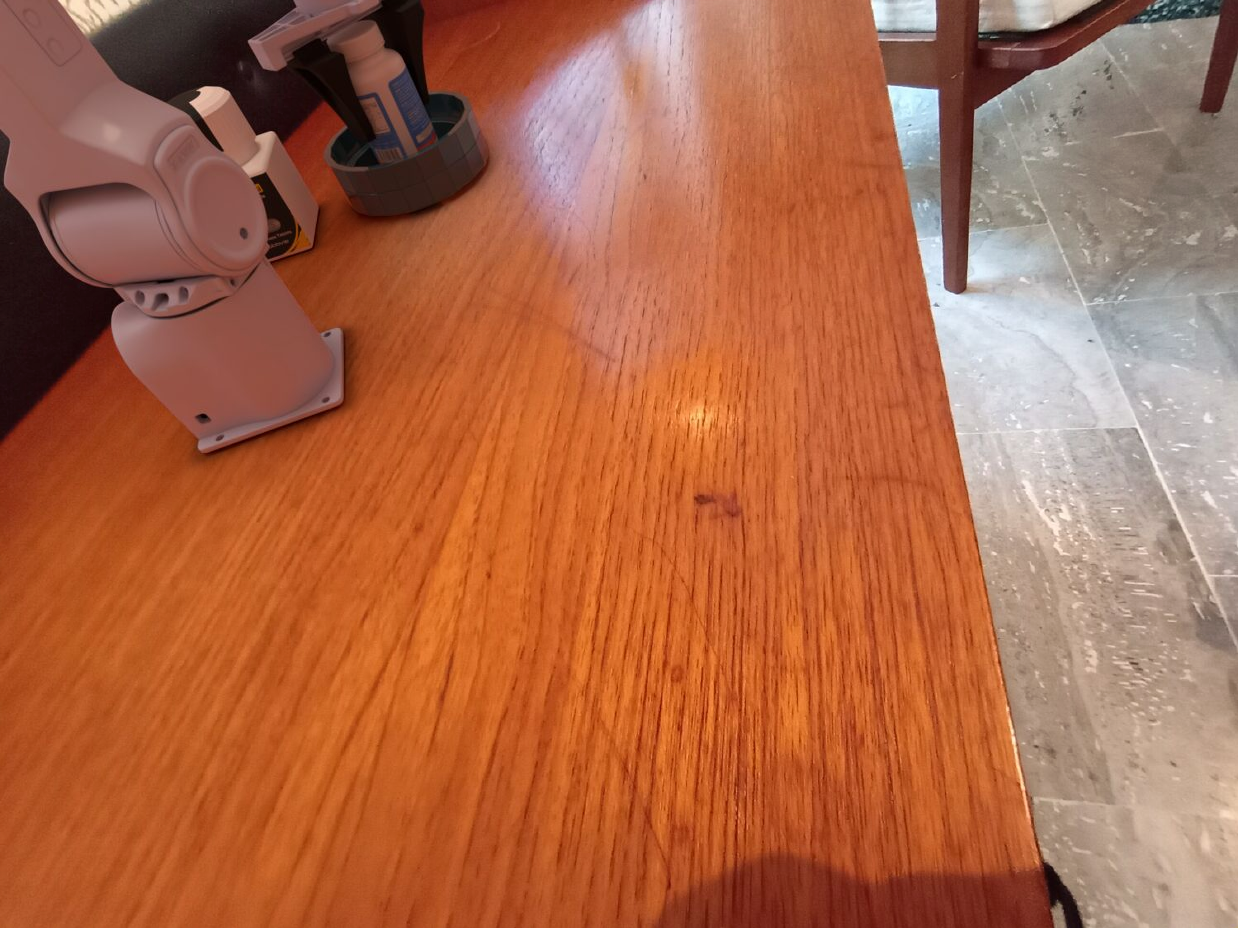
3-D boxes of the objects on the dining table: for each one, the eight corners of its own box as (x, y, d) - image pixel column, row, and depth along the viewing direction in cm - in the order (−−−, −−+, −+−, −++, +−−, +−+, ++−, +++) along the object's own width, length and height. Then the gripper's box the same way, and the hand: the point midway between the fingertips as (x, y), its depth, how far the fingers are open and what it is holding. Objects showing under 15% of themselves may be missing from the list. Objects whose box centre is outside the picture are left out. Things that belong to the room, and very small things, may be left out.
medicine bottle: (232, 275, 60) (126, 135, 51) (245, 232, 65) (150, 96, 56) (314, 249, 60) (222, 102, 51) (320, 207, 65) (237, 66, 56)
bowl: (351, 239, 59) (322, 189, 56) (350, 171, 68) (325, 124, 65) (500, 186, 59) (479, 133, 56) (480, 125, 68) (461, 75, 65)
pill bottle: (428, 130, 64) (376, 9, 57) (448, 150, 61) (395, 23, 53) (372, 157, 63) (311, 37, 56) (388, 178, 60) (326, 54, 53)
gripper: (241, -30, 45) (351, 175, 55) (416, -118, 50) (486, 83, 60) (192, -31, 49) (303, 160, 59) (360, -113, 54) (435, 75, 64)
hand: (393, 120), depth 60 cm, fingers closed on pill bottle, 5 cm apart
